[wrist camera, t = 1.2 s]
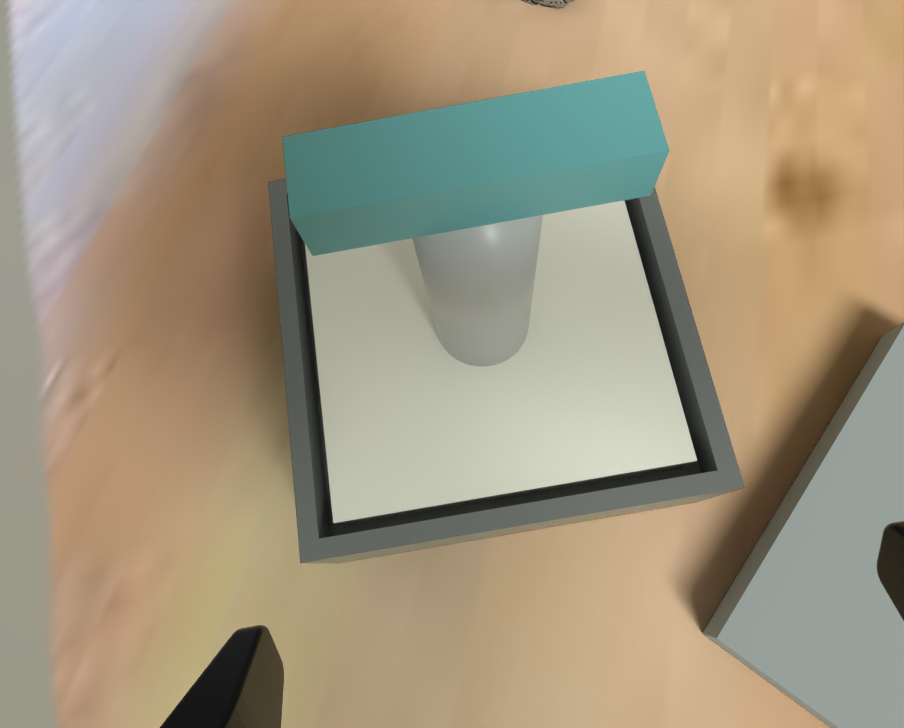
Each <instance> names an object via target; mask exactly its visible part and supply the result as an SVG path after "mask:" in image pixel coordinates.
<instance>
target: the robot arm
mask: <svg viewBox="0 0 904 728" xmlns="http://www.w3.org/2000/svg"><path fill="white" fill-rule="evenodd" d="M877 573H878V577H879V579H880V581H881V583H882V585H883V587H884V589H885V590H886V592H887V594H888V595H889V597H890V599H891V601H892V602H893V604H894V606H895V607H896V609H897V611H898V613H899V614H900V616H901V618H902V619H903V621H904V521H901V522H894V523H890V524H888V525H887V526H886V527H885V528H884V531H883V535H882V540H881V545H880V549H879V554H878V559H877ZM283 685H284V669H283V663H282V660H281V658H280V655H279V653H278V650H277V648H276V646H275V643H274V641H273V639H272V636H271V634H270V632H269V630H268V628H267V627H265V626H262V625H259V626H253V627H247V628H241V629H239V630H237V631H236V632H235V633H233V635H232V636H231V637H230V638H229V640H228V641H227V642H226V644H225V645H224V646H223V647H222V649H221V650H220V651H219V652H218V654H217V655H216V656H215V658H214V659H213V660H212V661H211V663H210V664H209V665H208V667H207V668H206V669H205V670H204V672H203V673H202V674H201V676H200V677H199V678H198V679H197V681H196V682H195V683H194V685H193V686H192V687H191V688H190V690H189V691H188V692H187V694H186V695H185V696H184V697H183V699H182V700H181V701H180V702H179V704H178V705H177V706H176V708H175V709H174V710H173V711H172V713H171V714H170V715H169V717H168V718H167V719H166V720H165V722H164V723H163V724H162V726H161V727H160V728H281V716H282V700H283Z"/></svg>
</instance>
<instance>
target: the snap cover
mask: <svg viewBox="0 0 904 728" xmlns="http://www.w3.org/2000/svg"><path fill="white" fill-rule="evenodd" d="M282 139H283V149H284V160H285V170H286V181H287V192H288V202H289V213H290V219H291V221H292V223H293V224H294V226H295V228H296V229H297V231H298V233H299V234H300V236H301V238H302V239H303V241H304V243H305V250H306V260H307V269H308V279H309V289H310V299H311V309H312V319H313V329H314V338H315V348H316V358H317V368H318V378H319V388H320V398H321V407H322V417H323V427H324V437H325V447H326V457H327V467H328V476H329V486H330V496H331V506H332V516H333V523H335V524H339V525H348V524H354V523H360V522H366V521H372V520H377V519H383V518H389V517H395V516H401V515H407V514H412V513H418V512H424V511H430V510H436V509H442V508H447V507H453V506H459V505H465V504H471V503H477V502H482V501H488V500H494V499H500V498H506V497H512V496H517V495H523V494H529V493H535V492H541V491H547V490H552V489H558V488H564V487H570V486H576V485H582V484H587V483H593V482H599V481H605V480H611V479H617V478H622V477H628V476H634V475H640V474H646V473H652V472H657V471H663V470H669V469H675V468H681V467H686V466H688V465H690V464H692V463H694V462H696V461H697V458H696V454H695V451H694V447H693V444H692V440H691V437H690V433H689V429H688V426H687V422H686V419H685V415H684V412H683V408H682V404H681V401H680V397H679V394H678V390H677V387H676V383H675V379H674V376H673V372H672V369H671V365H670V362H669V358H668V354H667V351H666V347H665V344H664V340H663V337H662V333H661V329H660V326H659V322H658V319H657V315H656V312H655V308H654V304H653V301H652V297H651V294H650V290H649V287H648V283H647V279H646V276H645V272H644V269H643V265H642V261H641V258H640V254H639V251H638V247H637V244H636V240H635V236H634V233H633V229H632V226H631V222H630V219H629V215H628V211H627V208H626V204H625V201H624V200H629V199H634V198H640V197H646V196H651V193H652V191H653V189H654V186H655V184H656V181H657V179H658V176H659V174H660V172H661V169H662V167H663V164H664V162H665V160H666V157H667V155H668V152H669V148H668V144H667V141H666V138H665V135H664V132H663V128H662V125H661V122H660V119H659V116H658V112H657V109H656V106H655V103H654V100H653V96H652V93H651V90H650V87H649V84H648V81H647V77H646V74H645V71H640V72H634V73H629V74H623V75H618V76H612V77H607V78H602V79H596V80H591V81H585V82H580V83H574V84H569V85H563V86H558V87H552V88H547V89H541V90H536V91H530V92H525V93H519V94H514V95H508V96H503V97H497V98H492V99H486V100H481V101H475V102H470V103H464V104H459V105H453V106H448V107H443V108H437V109H432V110H426V111H421V112H415V113H410V114H404V115H399V116H393V117H388V118H382V119H377V120H371V121H366V122H360V123H355V124H349V125H344V126H338V127H333V128H327V129H322V130H316V131H311V132H305V133H300V134H295V135H289V136H284V137H282Z"/></svg>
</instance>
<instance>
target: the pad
mask: <svg viewBox="0 0 904 728" xmlns="http://www.w3.org/2000/svg"><path fill="white" fill-rule="evenodd" d="M901 521H904V323H902V324H900V325H899V326H897V327H895V328H894V329H892V330H890V331H889V332H887V333H885V334H884V335H882V337H881V339H880V340H879V342H878V344H877V345H876V347H875V349H874V350H873V352H872V354H871V355H870V357H869V359H868V360H867V362H866V363H865V365H864V367H863V368H862V370H861V372H860V373H859V375H858V377H857V378H856V380H855V382H854V383H853V385H852V387H851V388H850V390H849V392H848V393H847V395H846V397H845V398H844V400H843V402H842V403H841V405H840V406H839V408H838V410H837V411H836V413H835V415H834V416H833V418H832V420H831V421H830V423H829V425H828V426H827V428H826V430H825V431H824V433H823V435H822V436H821V438H820V440H819V441H818V443H817V445H816V446H815V448H814V449H813V451H812V453H811V454H810V456H809V458H808V459H807V461H806V463H805V464H804V466H803V468H802V469H801V471H800V473H799V474H798V476H797V478H796V479H795V481H794V483H793V484H792V486H791V488H790V489H789V491H788V492H787V494H786V496H785V497H784V499H783V501H782V502H781V504H780V506H779V507H778V509H777V511H776V512H775V514H774V516H773V517H772V519H771V521H770V522H769V524H768V526H767V527H766V529H765V531H764V532H763V534H762V535H761V537H760V539H759V540H758V542H757V544H756V545H755V547H754V549H753V550H752V552H751V554H750V555H749V557H748V559H747V560H746V562H745V564H744V565H743V567H742V569H741V570H740V572H739V574H738V575H737V577H736V578H735V580H734V582H733V583H732V585H731V587H730V588H729V590H728V592H727V593H726V595H725V597H724V598H723V600H722V602H721V603H720V605H719V607H718V608H717V610H716V612H715V613H714V615H713V617H712V618H711V620H710V621H709V623H708V625H707V626H706V628H705V630H704V631H703V633H702V634H704V635H705V636H706V637H708V638H709V639H710V640H712V641H713V642H714V643H716V644H717V645H719V646H720V647H721V648H723V649H724V650H725V651H727V652H728V653H729V654H731V655H732V656H734V657H735V658H736V659H738V660H739V661H740V662H742V663H743V664H744V665H746V666H747V667H749V668H750V669H751V670H753V671H754V672H755V673H757V674H758V675H759V676H761V677H762V678H764V679H765V680H766V681H768V682H769V683H770V684H772V685H773V686H774V687H776V688H777V689H778V690H780V691H781V692H783V693H784V694H785V695H787V696H788V697H789V698H791V699H792V700H793V701H795V702H796V703H798V704H799V705H800V706H802V707H803V708H804V709H806V710H807V711H808V712H810V713H811V714H813V715H814V716H815V717H817V718H818V719H819V720H821V721H822V722H823V723H825V724H826V725H828V726H829V727H830V728H904V621H903V619H902V618H901V616H900V614H899V613H898V611H897V609H896V607H895V606H894V604H893V602H892V601H891V599H890V597H889V595H888V594H887V592H886V590H885V589H884V587H883V585H882V583H881V581H880V579H879V577H878V573H877V559H878V554H879V549H880V545H881V540H882V535H883V531H884V528H885V527H886V526H887V525H888V524H890V523H894V522H901Z"/></svg>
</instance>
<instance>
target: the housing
mask: <svg viewBox="0 0 904 728" xmlns="http://www.w3.org/2000/svg"><path fill="white" fill-rule="evenodd" d="M268 185H269V197H270V209H271V220H272V232H273V244H274V256H275V268H276V280H277V291H278V303H279V315H280V327H281V339H282V350H283V362H284V374H285V386H286V398H287V410H288V421H289V433H290V445H291V457H292V469H293V481H294V492H295V504H296V516H297V528H298V540H299V552H300V563H343V562H349V561H355V560H360V559H366V558H372V557H378V556H384V555H390V554H396V553H402V552H407V551H413V550H419V549H425V548H431V547H437V546H443V545H448V544H454V543H460V542H466V541H472V540H478V539H484V538H490V537H495V536H501V535H507V534H513V533H519V532H525V531H531V530H536V529H542V528H548V527H554V526H560V525H566V524H572V523H578V522H583V521H589V520H595V519H601V518H607V517H613V516H619V515H625V514H630V513H636V512H642V511H648V510H654V509H660V508H666V507H671V506H677V505H683V504H689V503H695V502H700V501H703V500H706V499H709V498H712V497H716V496H719V495H722V494H725V493H728V492H732V491H735V490H738V489H741V488H744V484H743V481H742V478H741V474H740V471H739V468H738V464H737V461H736V457H735V454H734V451H733V447H732V444H731V441H730V437H729V434H728V431H727V427H726V424H725V421H724V417H723V414H722V411H721V407H720V404H719V401H718V397H717V394H716V391H715V387H714V384H713V380H712V377H711V374H710V370H709V367H708V364H707V360H706V357H705V354H704V350H703V347H702V344H701V340H700V337H699V334H698V330H697V327H696V324H695V320H694V317H693V314H692V310H691V307H690V304H689V300H688V297H687V293H686V290H685V287H684V283H683V280H682V277H681V273H680V270H679V267H678V263H677V260H676V257H675V253H674V250H673V247H672V243H671V240H670V237H669V233H668V230H667V227H666V223H665V220H664V216H663V213H662V210H661V206H660V203H659V200H658V196H657V193H656V190H655V186H654V189H653V191H652V193H651V196H646V197H640V198H634V199H629V200H624V201H625V204H626V208H627V211H628V215H629V219H630V222H631V226H632V229H633V233H634V236H635V240H636V244H637V247H638V251H639V254H640V258H641V261H642V265H643V269H644V272H645V276H646V279H647V283H648V287H649V290H650V294H651V297H652V301H653V304H654V308H655V312H656V315H657V319H658V322H659V326H660V329H661V333H662V337H663V340H664V344H665V347H666V351H667V354H668V358H669V362H670V365H671V369H672V372H673V376H674V379H675V383H676V387H677V390H678V394H679V397H680V401H681V404H682V408H683V412H684V415H685V419H686V422H687V426H688V429H689V433H690V437H691V440H692V444H693V447H694V451H695V454H696V458H697V461H696V462H694V463H692V464H690V465H688V466H686V467H681V468H675V469H669V470H663V471H657V472H652V473H646V474H640V475H634V476H628V477H622V478H617V479H611V480H605V481H599V482H593V483H587V484H582V485H576V486H570V487H564V488H558V489H552V490H547V491H541V492H535V493H529V494H523V495H517V496H512V497H506V498H500V499H494V500H488V501H482V502H477V503H471V504H465V505H459V506H453V507H447V508H442V509H436V510H430V511H424V512H418V513H412V514H407V515H401V516H395V517H389V518H383V519H377V520H372V521H366V522H360V523H354V524H348V525H339V524H335V523H333V516H332V506H331V496H330V486H329V476H328V467H327V457H326V447H325V437H324V427H323V417H322V407H321V398H320V388H319V378H318V368H317V358H316V348H315V338H314V329H313V319H312V309H311V299H310V289H309V279H308V269H307V260H306V250H305V243H304V241H303V239H302V238H301V236H300V234H299V233H298V231H297V229H296V228H295V226H294V224H293V223H292V221H291V219H290V213H289V202H288V192H287V181H286V179H281V180H276V181H270V182H268Z"/></svg>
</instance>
